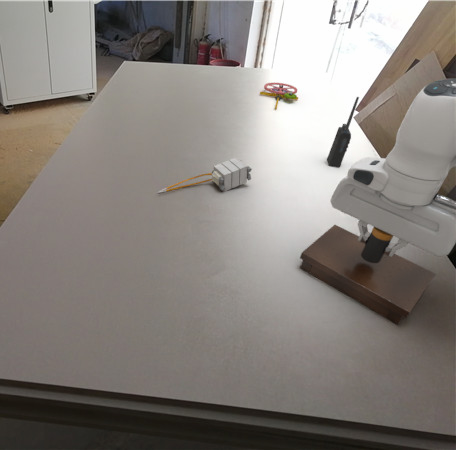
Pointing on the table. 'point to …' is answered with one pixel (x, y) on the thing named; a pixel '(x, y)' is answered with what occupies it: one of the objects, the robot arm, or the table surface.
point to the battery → (376, 245)
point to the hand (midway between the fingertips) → (375, 247)
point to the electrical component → (224, 175)
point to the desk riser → (366, 274)
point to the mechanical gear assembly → (280, 92)
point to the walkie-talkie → (341, 142)
